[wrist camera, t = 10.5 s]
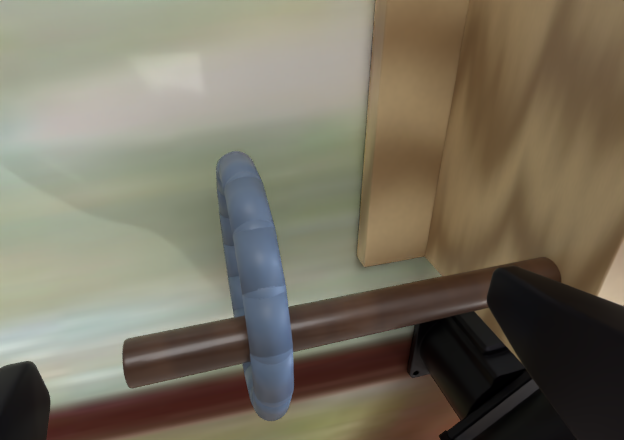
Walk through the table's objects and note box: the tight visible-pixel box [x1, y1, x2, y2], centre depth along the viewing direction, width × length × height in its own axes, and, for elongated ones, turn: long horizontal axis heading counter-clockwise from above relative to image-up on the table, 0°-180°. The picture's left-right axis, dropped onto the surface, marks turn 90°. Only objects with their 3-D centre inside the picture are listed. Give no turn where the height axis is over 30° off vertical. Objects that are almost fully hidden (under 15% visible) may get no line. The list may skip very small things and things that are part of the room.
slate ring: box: [216, 151, 294, 421], centre depth 15 cm, size 9×1×9 cm, turn 0°
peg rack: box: [122, 0, 624, 388], centre depth 14 cm, size 22×17×11 cm
